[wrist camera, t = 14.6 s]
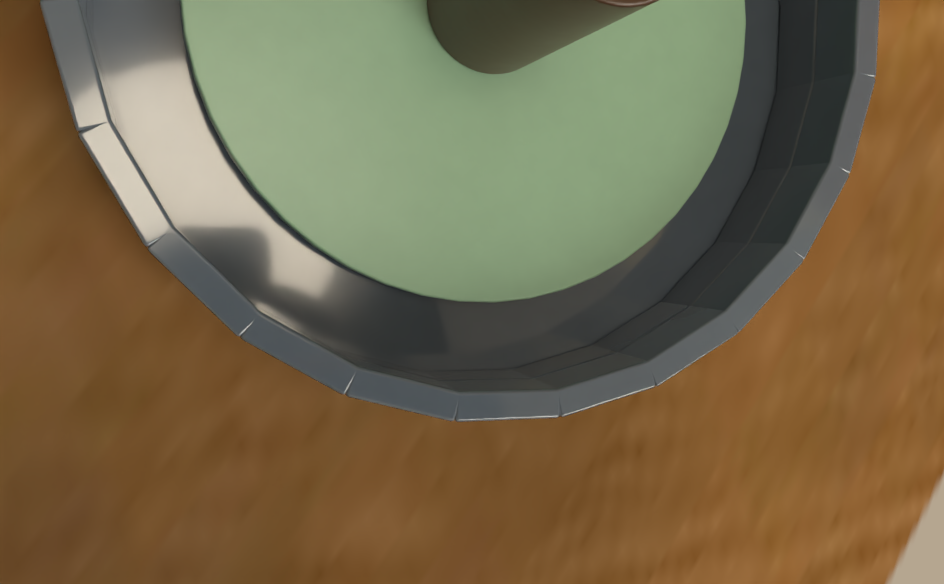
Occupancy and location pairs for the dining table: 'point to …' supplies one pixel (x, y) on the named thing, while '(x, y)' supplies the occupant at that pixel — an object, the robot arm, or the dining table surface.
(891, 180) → the dining table surface
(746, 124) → the pan
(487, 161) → the lid
